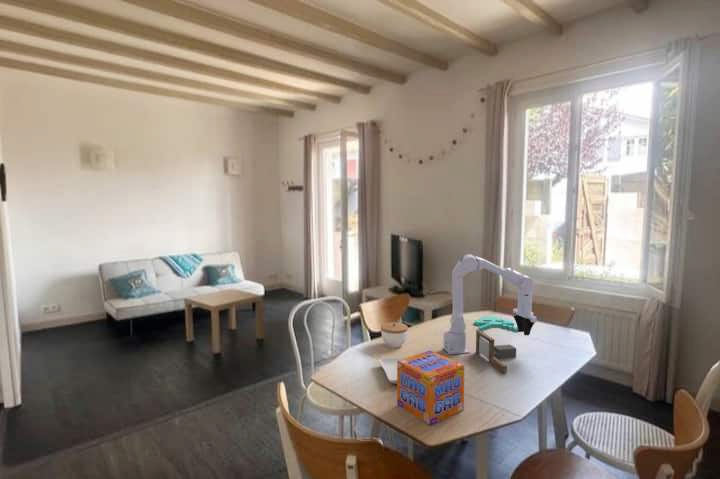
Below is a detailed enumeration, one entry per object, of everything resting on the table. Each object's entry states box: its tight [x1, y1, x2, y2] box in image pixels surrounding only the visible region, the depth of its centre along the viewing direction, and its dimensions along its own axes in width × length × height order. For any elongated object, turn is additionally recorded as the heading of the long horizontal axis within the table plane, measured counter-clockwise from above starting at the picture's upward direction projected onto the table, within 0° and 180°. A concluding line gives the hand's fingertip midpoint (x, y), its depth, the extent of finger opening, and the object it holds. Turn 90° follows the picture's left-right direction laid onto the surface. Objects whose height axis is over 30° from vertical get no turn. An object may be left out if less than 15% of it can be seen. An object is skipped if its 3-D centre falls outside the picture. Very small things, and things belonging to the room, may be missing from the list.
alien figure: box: [474, 316, 519, 333], centre depth 217 cm, size 20×2×20 cm
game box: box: [396, 350, 465, 426], centre depth 131 cm, size 16×16×16 cm
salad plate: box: [377, 356, 409, 385], centre depth 157 cm, size 21×21×3 cm
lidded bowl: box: [380, 321, 409, 349], centre depth 188 cm, size 13×13×11 cm
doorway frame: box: [475, 329, 508, 375], centre depth 167 cm, size 2×23×10 cm, turn 11°
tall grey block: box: [494, 343, 517, 360], centre depth 174 cm, size 10×5×4 cm, turn 101°
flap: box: [479, 337, 489, 360], centre depth 172 cm, size 1×9×7 cm, turn 11°
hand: (523, 333), depth 175 cm, fingers open, 4 cm apart
